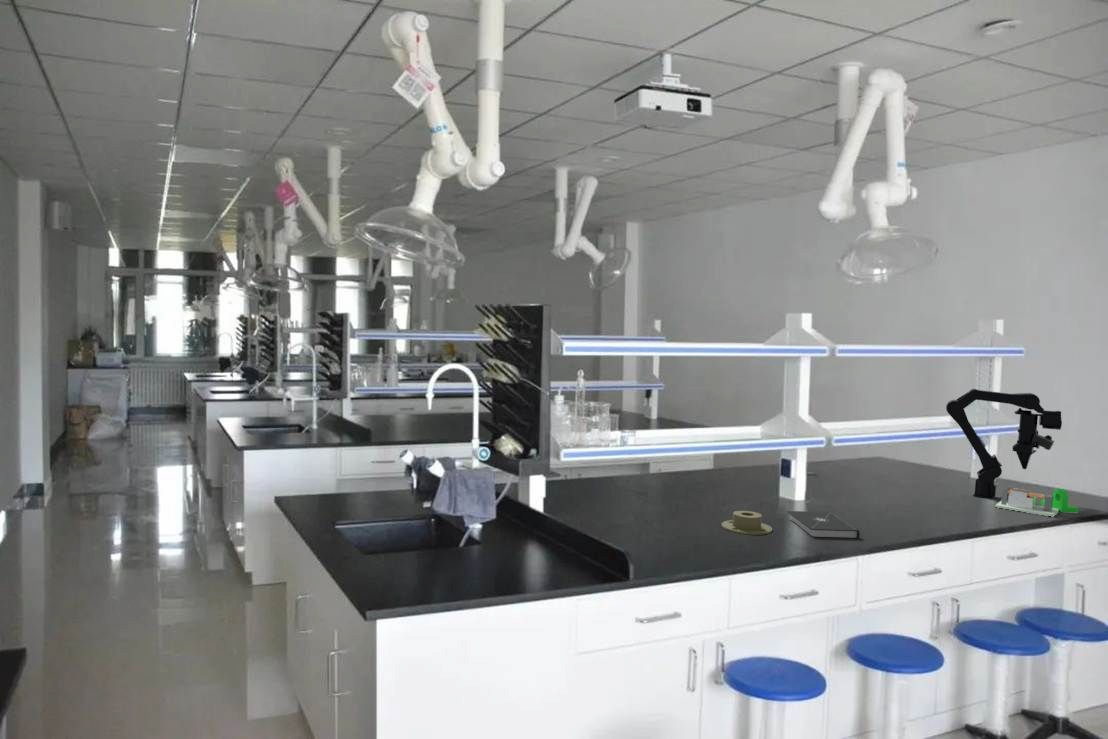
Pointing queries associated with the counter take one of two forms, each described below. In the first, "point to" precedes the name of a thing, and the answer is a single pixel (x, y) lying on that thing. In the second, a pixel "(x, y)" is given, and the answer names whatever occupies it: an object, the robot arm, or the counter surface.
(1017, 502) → the electronic module
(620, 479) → the counter surface
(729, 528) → the flange
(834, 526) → the book
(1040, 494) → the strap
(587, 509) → the counter surface
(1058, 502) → the mechanical part
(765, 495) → the counter surface
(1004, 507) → the board
